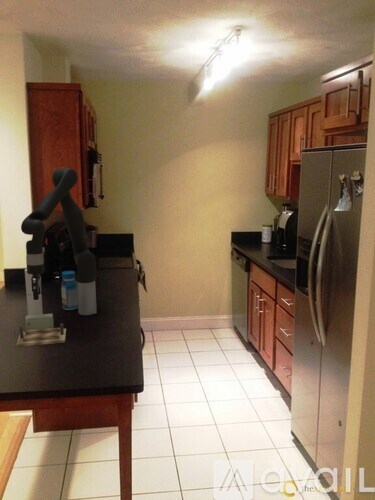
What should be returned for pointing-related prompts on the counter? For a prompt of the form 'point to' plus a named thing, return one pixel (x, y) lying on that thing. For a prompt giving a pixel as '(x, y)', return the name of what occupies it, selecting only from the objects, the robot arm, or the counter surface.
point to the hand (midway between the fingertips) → (37, 296)
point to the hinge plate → (40, 342)
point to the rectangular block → (39, 321)
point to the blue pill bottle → (69, 291)
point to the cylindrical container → (32, 304)
